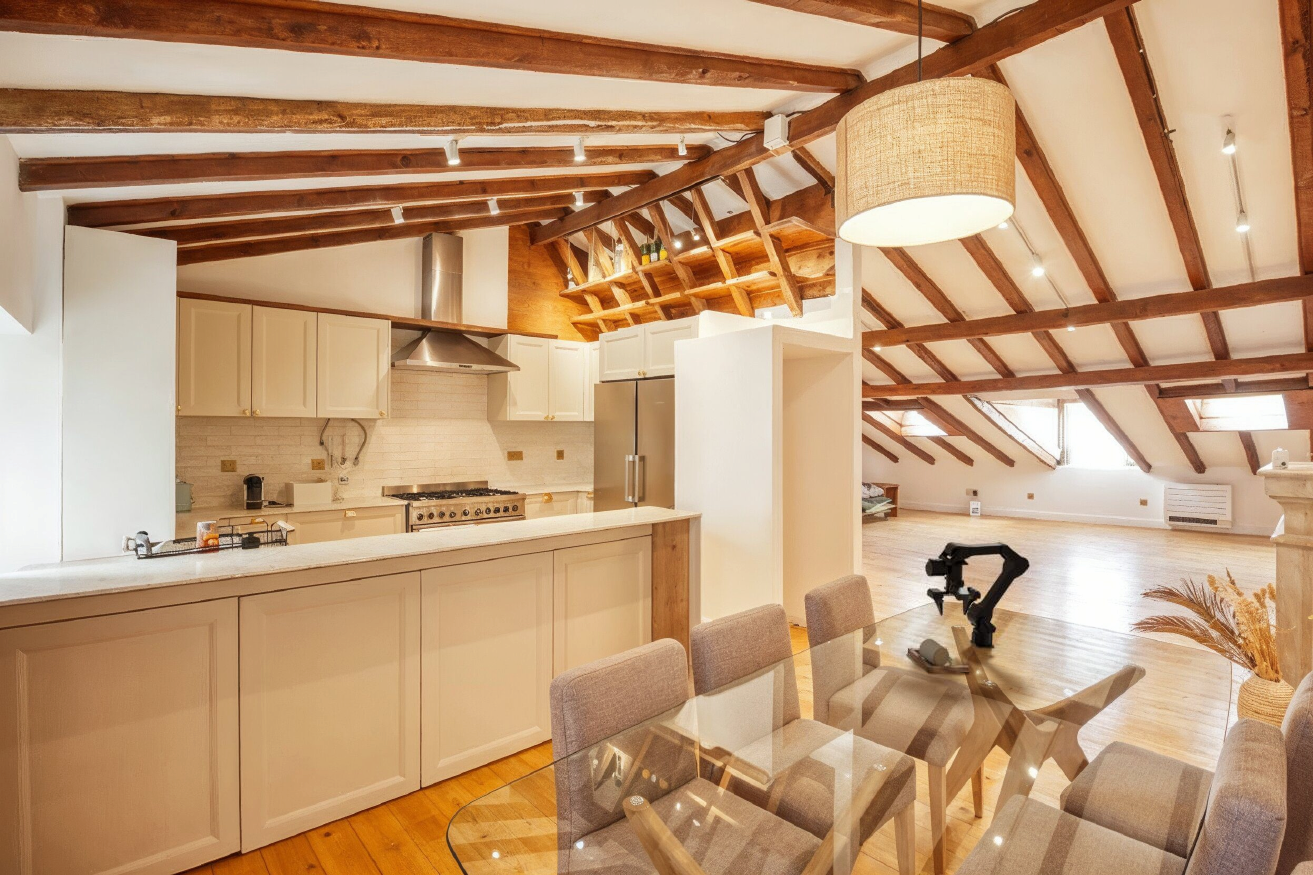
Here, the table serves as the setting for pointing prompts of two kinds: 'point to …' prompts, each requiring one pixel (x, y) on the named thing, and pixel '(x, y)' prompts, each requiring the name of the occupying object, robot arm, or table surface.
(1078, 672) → the table surface
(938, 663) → the ceramic mug
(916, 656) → the walnut corral
